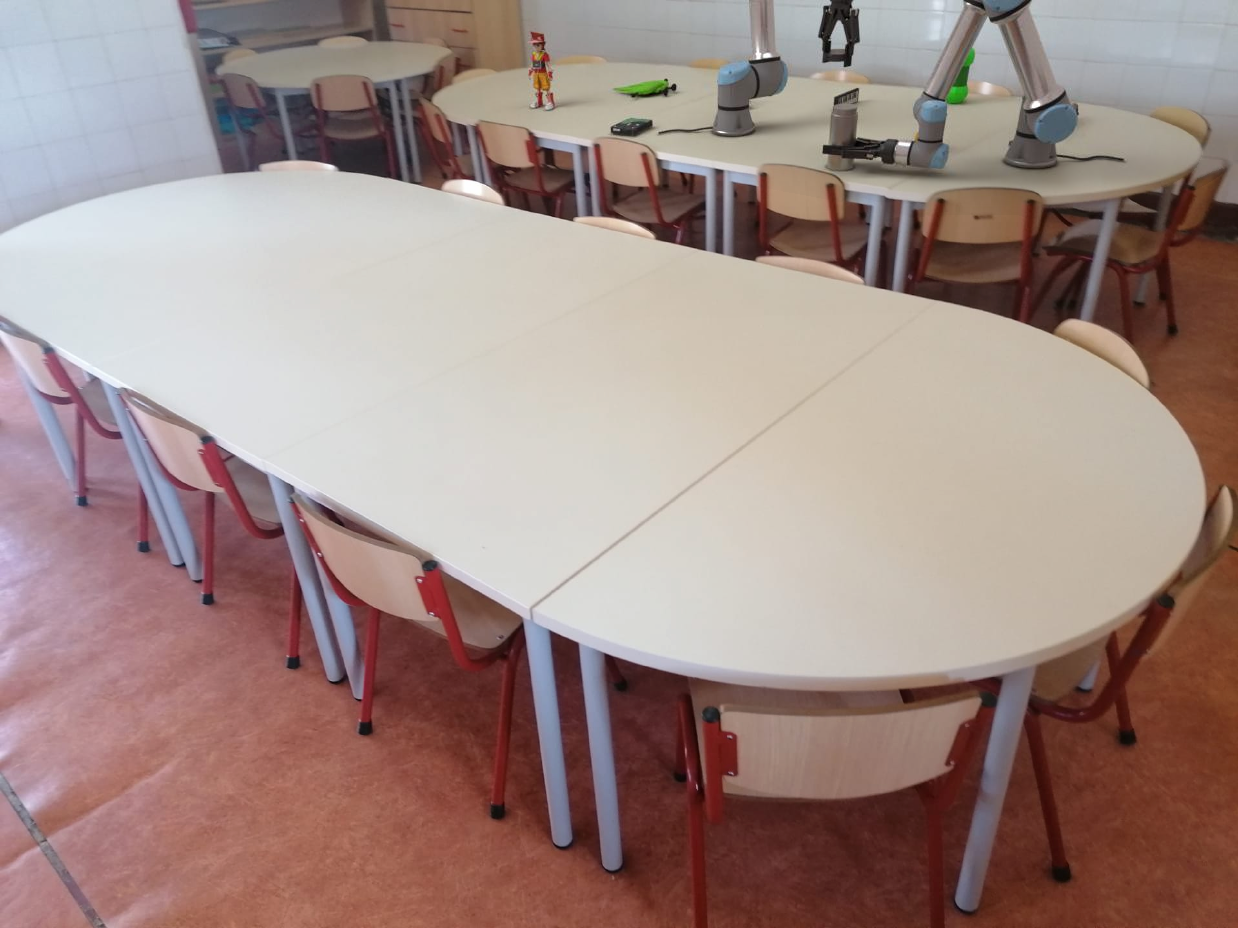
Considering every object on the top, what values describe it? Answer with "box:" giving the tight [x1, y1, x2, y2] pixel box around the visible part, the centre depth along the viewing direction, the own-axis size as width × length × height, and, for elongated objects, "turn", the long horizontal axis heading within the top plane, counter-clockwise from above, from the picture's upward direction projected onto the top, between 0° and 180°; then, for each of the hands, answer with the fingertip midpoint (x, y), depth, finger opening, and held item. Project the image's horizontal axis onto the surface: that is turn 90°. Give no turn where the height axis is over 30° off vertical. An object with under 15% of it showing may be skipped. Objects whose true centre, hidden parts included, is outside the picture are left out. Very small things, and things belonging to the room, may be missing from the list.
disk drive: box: [610, 117, 653, 136], centre depth 344 cm, size 10×3×15 cm
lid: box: [822, 48, 845, 63], centre depth 293 cm, size 9×9×2 cm
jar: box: [826, 103, 859, 171], centre depth 289 cm, size 8×8×19 cm
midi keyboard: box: [833, 87, 860, 106], centre depth 357 cm, size 18×1×5 cm, turn 138°
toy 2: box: [612, 78, 677, 99], centre depth 396 cm, size 28×5×30 cm
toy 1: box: [527, 31, 556, 111], centre depth 374 cm, size 12×9×30 cm
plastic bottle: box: [945, 47, 976, 104], centre depth 348 cm, size 10×10×25 cm
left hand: (836, 64), depth 294 cm, fingers closed on lid, 9 cm apart
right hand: (827, 145), depth 293 cm, fingers closed on jar, 8 cm apart
